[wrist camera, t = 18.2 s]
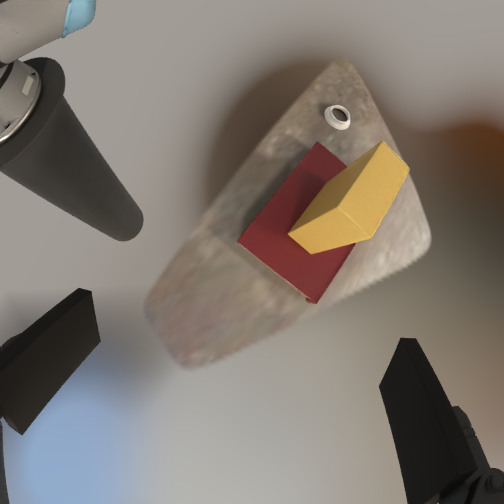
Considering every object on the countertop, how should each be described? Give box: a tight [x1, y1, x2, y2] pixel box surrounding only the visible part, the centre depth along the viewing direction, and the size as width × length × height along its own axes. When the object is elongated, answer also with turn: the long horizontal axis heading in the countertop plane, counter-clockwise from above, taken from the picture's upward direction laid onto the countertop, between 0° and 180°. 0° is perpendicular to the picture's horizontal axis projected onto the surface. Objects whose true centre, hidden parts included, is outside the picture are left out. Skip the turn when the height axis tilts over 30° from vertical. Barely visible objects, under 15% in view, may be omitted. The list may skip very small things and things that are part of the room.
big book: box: [237, 142, 356, 304], centre depth 34 cm, size 16×11×4 cm
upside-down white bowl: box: [324, 105, 350, 130], centre depth 37 cm, size 5×3×5 cm
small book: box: [288, 141, 410, 254], centre depth 26 cm, size 4×8×12 cm, turn 142°
